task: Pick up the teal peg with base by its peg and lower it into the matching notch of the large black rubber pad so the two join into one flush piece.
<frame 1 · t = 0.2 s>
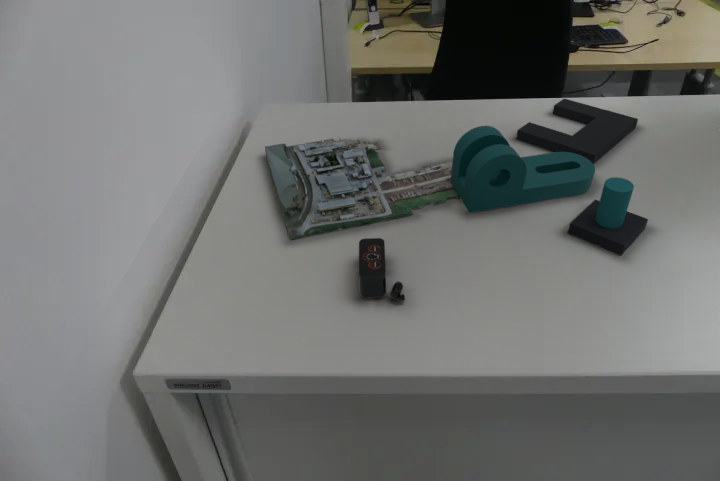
model: (383, 174, 78), on the table, touching bracket
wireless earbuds: (380, 285, 61), on the table
bracket: (524, 187, 73), on the table, touching model
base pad: (576, 133, 84), on the table
teal peg with base: (606, 231, 66), on the table
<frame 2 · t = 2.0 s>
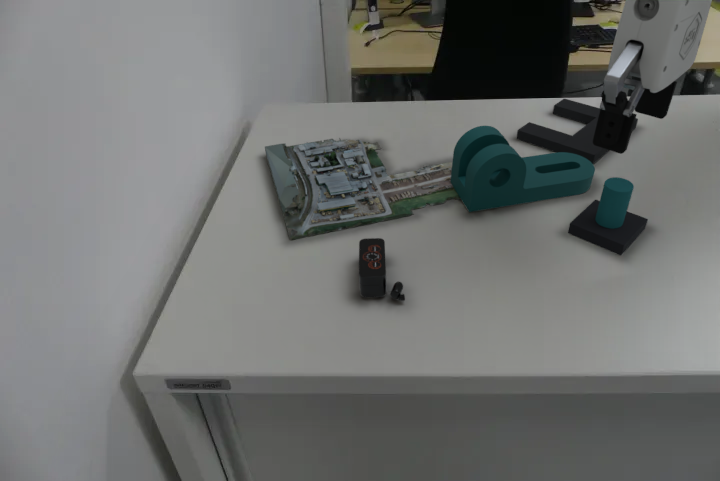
hand: (630, 130, 58), 13 cm above the table, tool pointing down, fingers open, 9 cm apart
nothing on the table moved.
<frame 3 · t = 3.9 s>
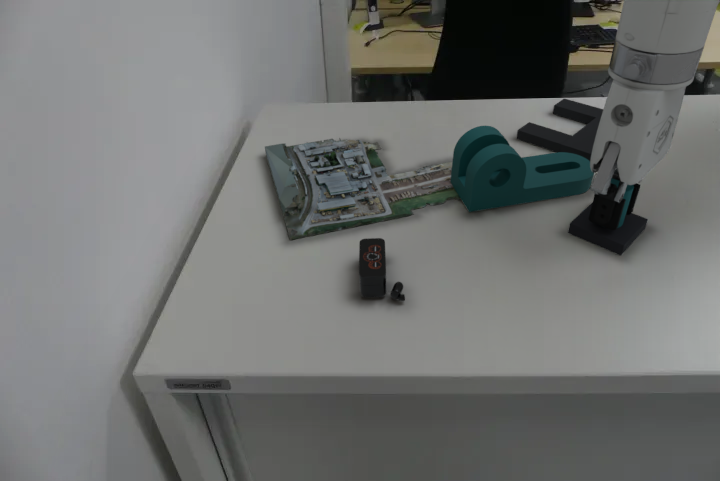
hand: (610, 215, 64), 2 cm above the table, tool pointing down, fingers closed on teal peg with base, 3 cm apart
teal peg with base: (606, 231, 66), on the table, touching gripper
everything else where it was.
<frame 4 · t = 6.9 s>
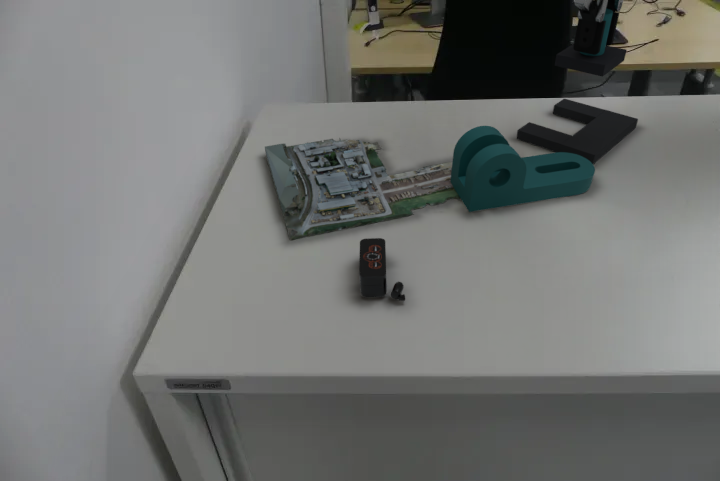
hand: (592, 46, 71), 15 cm above the table, tool pointing down, fingers closed on teal peg with base, 3 cm apart
teal peg with base: (589, 63, 72), point 13 cm above the table, touching gripper
everything else where it was.
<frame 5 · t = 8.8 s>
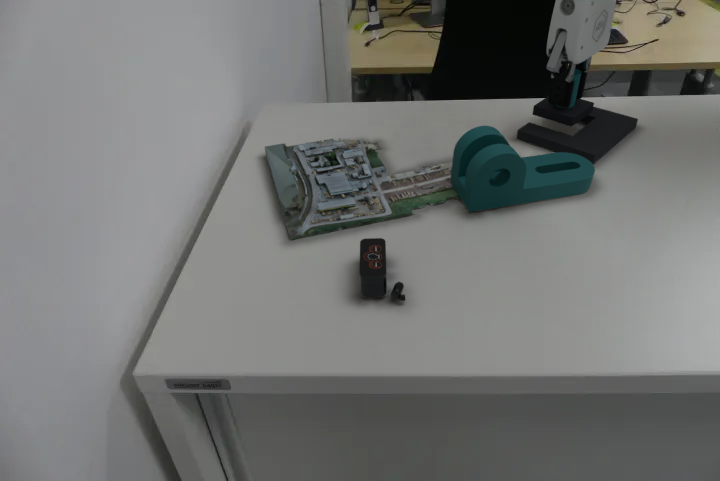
hand: (565, 99, 83), 5 cm above the table, tool pointing down, fingers closed on teal peg with base, 3 cm apart
teal peg with base: (562, 113, 84), point 3 cm above the table, touching gripper
everything else where it was.
when the fingers open (2 cm above the table, at t = 9.8 s): teal peg with base stays where it is, on the table.
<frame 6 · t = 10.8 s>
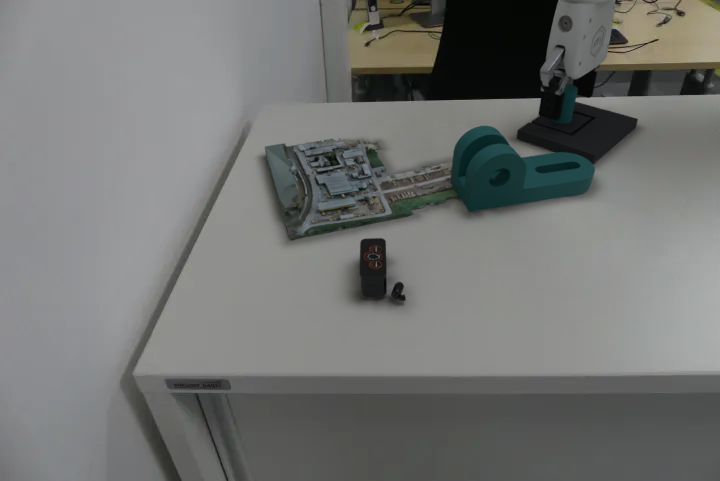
hand: (565, 106, 84), 4 cm above the table, tool pointing down, fingers open, 9 cm apart
teal peg with base: (559, 128, 86), on the table
everything else where it was.
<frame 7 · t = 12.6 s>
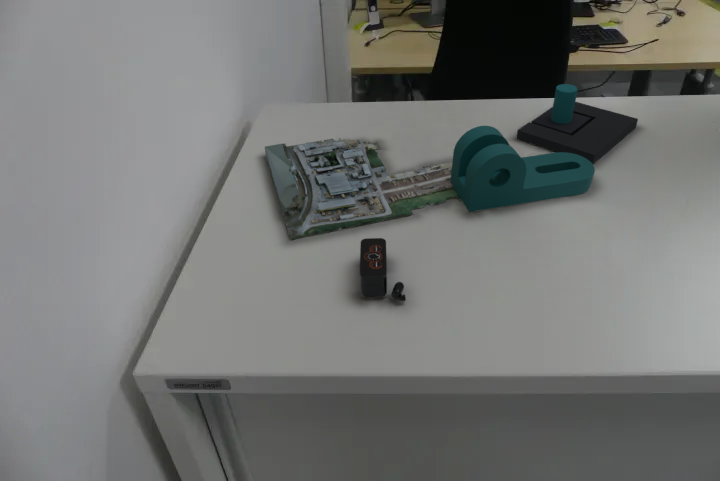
nothing on the table moved.
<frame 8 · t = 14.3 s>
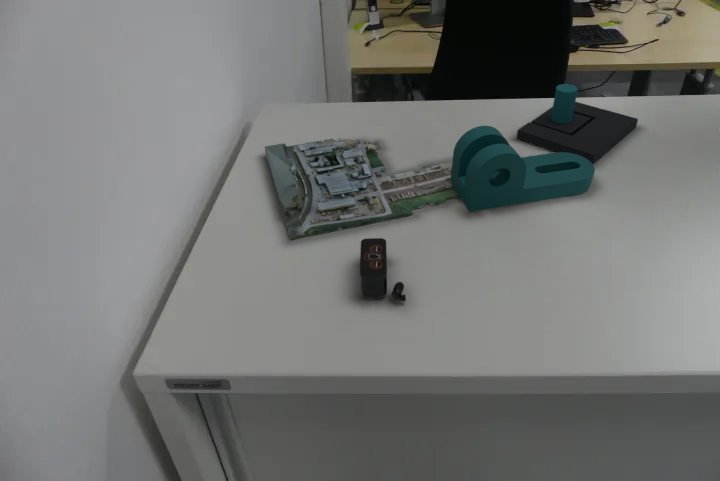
nothing on the table moved.
at the end: teal peg with base 0.2 cm from the target spot on the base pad, point 0.0 cm above the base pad's base; teal peg with base tilted 0°; the gripper is holding nothing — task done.
